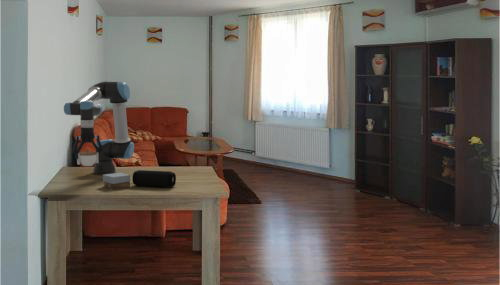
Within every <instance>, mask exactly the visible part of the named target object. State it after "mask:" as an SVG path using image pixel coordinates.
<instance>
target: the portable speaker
mask: <svg viewBox="0 0 500 285" xmlns="http://www.w3.org/2000/svg"><path fill="white" fill-rule="evenodd" d="M131 179H132V184H133V185H134V186H136V187H150V188H151V187H152V188H167V187H170V188H173V187H175V186H176V181H177V176H176V173H175V172H173V171H170V170H169V171H167V170H145V169H143V170H142V169H138V170H135V171H133V173H132V178H131Z"/></svg>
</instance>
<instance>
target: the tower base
mask: <svg viewBox="0 0 500 285" xmlns="http://www.w3.org/2000/svg"><path fill="white" fill-rule="evenodd" d="M103 184H104V185H103V186H104V187H105V188H107V189H109V188H110V189H109V190H111V189H112V190H120V189H130V188H131V181H130V182H123V183H116V184H112V183H108V182H104V181H103Z"/></svg>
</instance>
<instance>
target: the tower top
mask: <svg viewBox="0 0 500 285" xmlns="http://www.w3.org/2000/svg"><path fill="white" fill-rule="evenodd" d="M102 181H103V183H104V182H108V183H112V184H116V183H123V182H130V183H131V174H128V173H123V172H115V173H113V174H102Z"/></svg>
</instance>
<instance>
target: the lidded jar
mask: <svg viewBox="0 0 500 285" xmlns="http://www.w3.org/2000/svg"><path fill="white" fill-rule="evenodd" d="M79 154H80V165H82V167H93V166H94V165H95V163H96V159H97V152H96V151H91V150H89V149H86V150H85V151H79Z"/></svg>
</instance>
